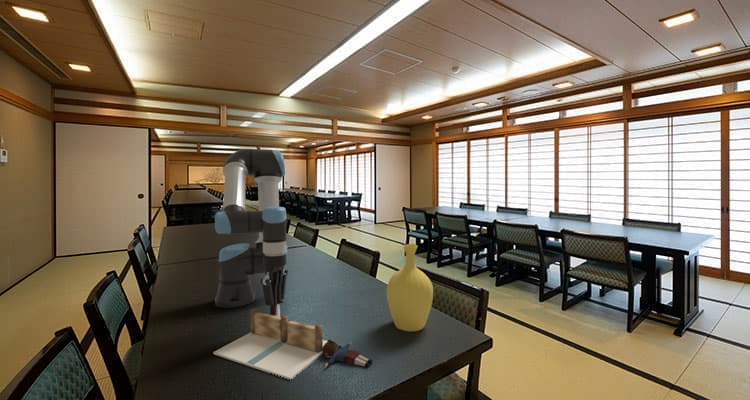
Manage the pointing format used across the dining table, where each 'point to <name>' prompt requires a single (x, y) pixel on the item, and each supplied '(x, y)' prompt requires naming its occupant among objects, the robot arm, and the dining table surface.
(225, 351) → the card
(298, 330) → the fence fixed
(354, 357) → the toy
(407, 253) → the vase
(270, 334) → the fence wing
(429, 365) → the dining table surface
